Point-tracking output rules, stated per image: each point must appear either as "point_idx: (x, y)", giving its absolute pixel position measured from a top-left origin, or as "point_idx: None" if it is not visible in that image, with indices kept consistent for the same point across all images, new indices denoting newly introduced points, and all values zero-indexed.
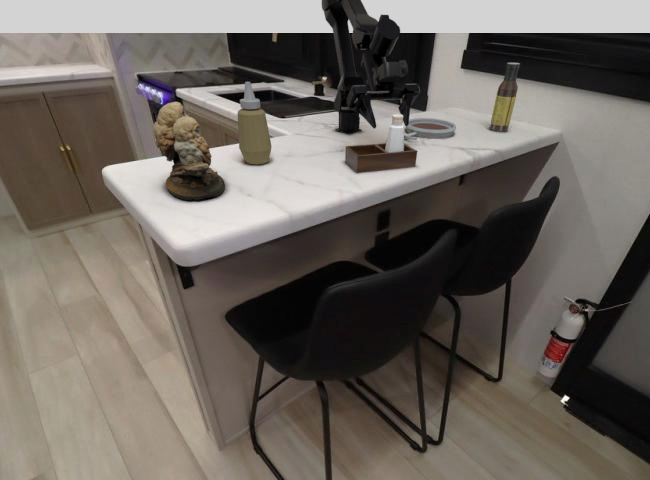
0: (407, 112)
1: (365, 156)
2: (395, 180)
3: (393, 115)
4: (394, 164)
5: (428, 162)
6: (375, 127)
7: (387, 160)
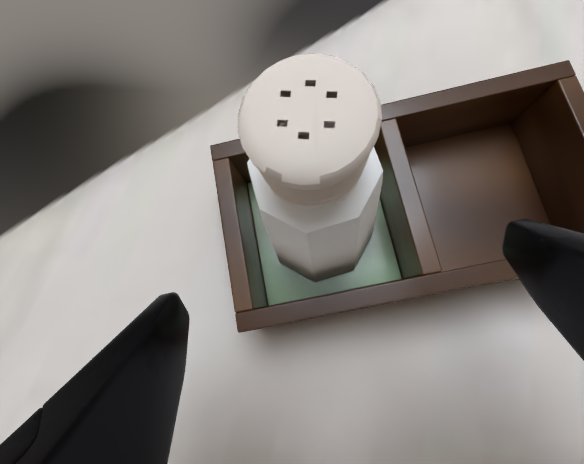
0: (93, 380)
1: (518, 73)
2: (360, 38)
3: (370, 94)
4: None
5: (155, 231)
6: (507, 233)
7: None
